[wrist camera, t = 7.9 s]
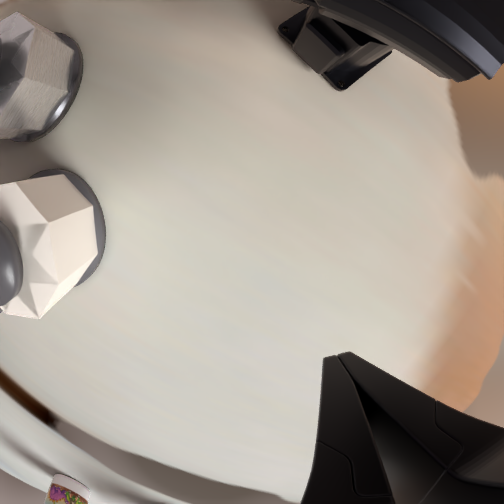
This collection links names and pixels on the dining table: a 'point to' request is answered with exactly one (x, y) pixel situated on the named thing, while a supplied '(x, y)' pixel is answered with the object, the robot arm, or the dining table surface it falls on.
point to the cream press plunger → (9, 266)
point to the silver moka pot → (35, 78)
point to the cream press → (52, 237)
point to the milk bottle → (66, 491)
